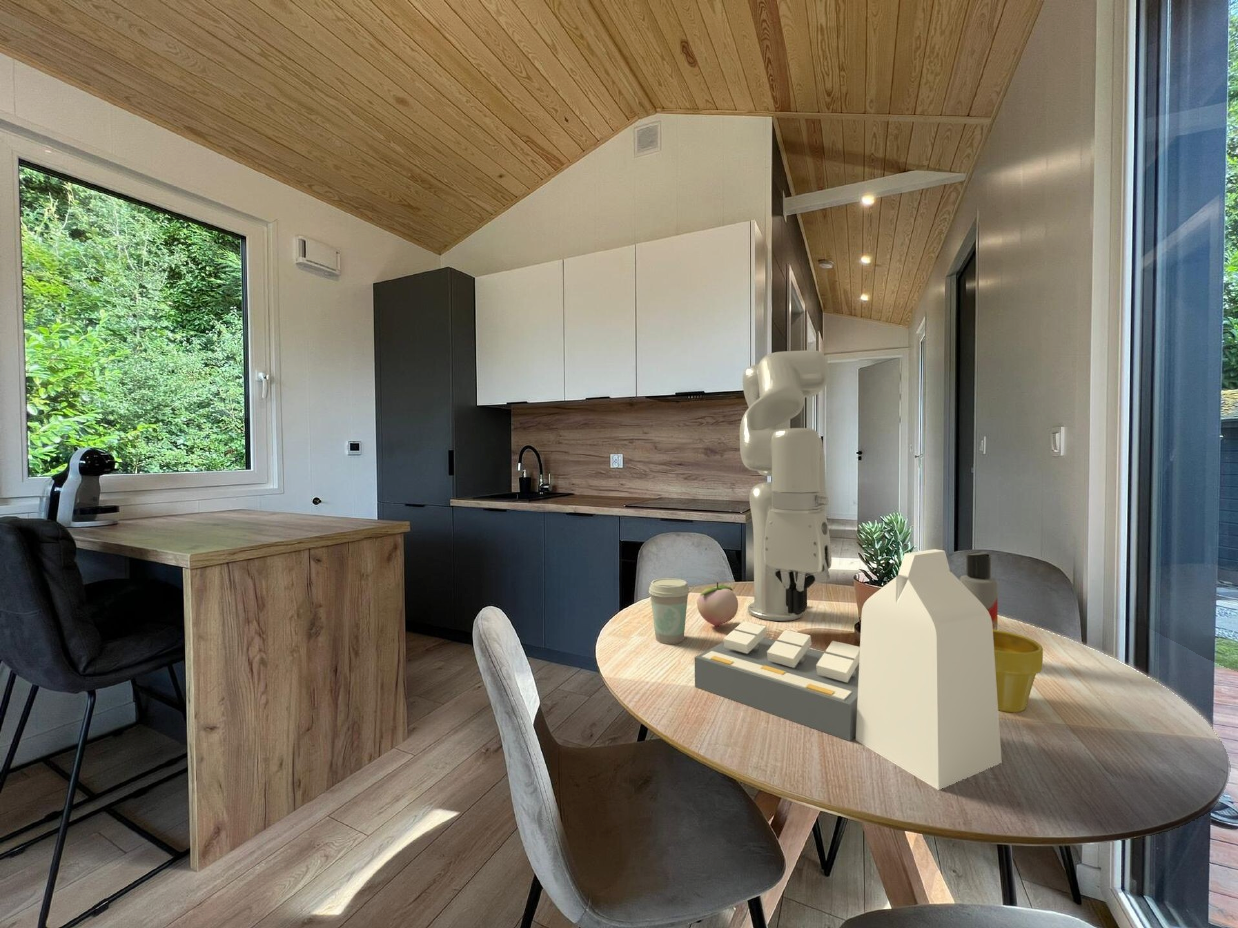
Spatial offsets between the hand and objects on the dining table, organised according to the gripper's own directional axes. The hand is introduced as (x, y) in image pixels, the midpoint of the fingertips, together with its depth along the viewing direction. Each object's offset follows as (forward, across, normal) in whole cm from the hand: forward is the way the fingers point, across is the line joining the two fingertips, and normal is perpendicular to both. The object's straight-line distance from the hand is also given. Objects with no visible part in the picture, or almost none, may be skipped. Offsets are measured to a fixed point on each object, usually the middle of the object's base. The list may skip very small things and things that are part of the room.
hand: (796, 611), depth 86 cm
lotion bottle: (+12, -21, -31) cm, 40 cm away
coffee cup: (+12, +29, -3) cm, 32 cm away
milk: (+13, -20, +8) cm, 25 cm away
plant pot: (+12, -26, -14) cm, 32 cm away
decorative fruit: (+12, +25, -16) cm, 32 cm away
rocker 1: (+5, +8, +3) cm, 10 cm away
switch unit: (+12, 0, +4) cm, 13 cm away
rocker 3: (+5, -8, +3) cm, 10 cm away
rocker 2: (+5, 0, +3) cm, 6 cm away
